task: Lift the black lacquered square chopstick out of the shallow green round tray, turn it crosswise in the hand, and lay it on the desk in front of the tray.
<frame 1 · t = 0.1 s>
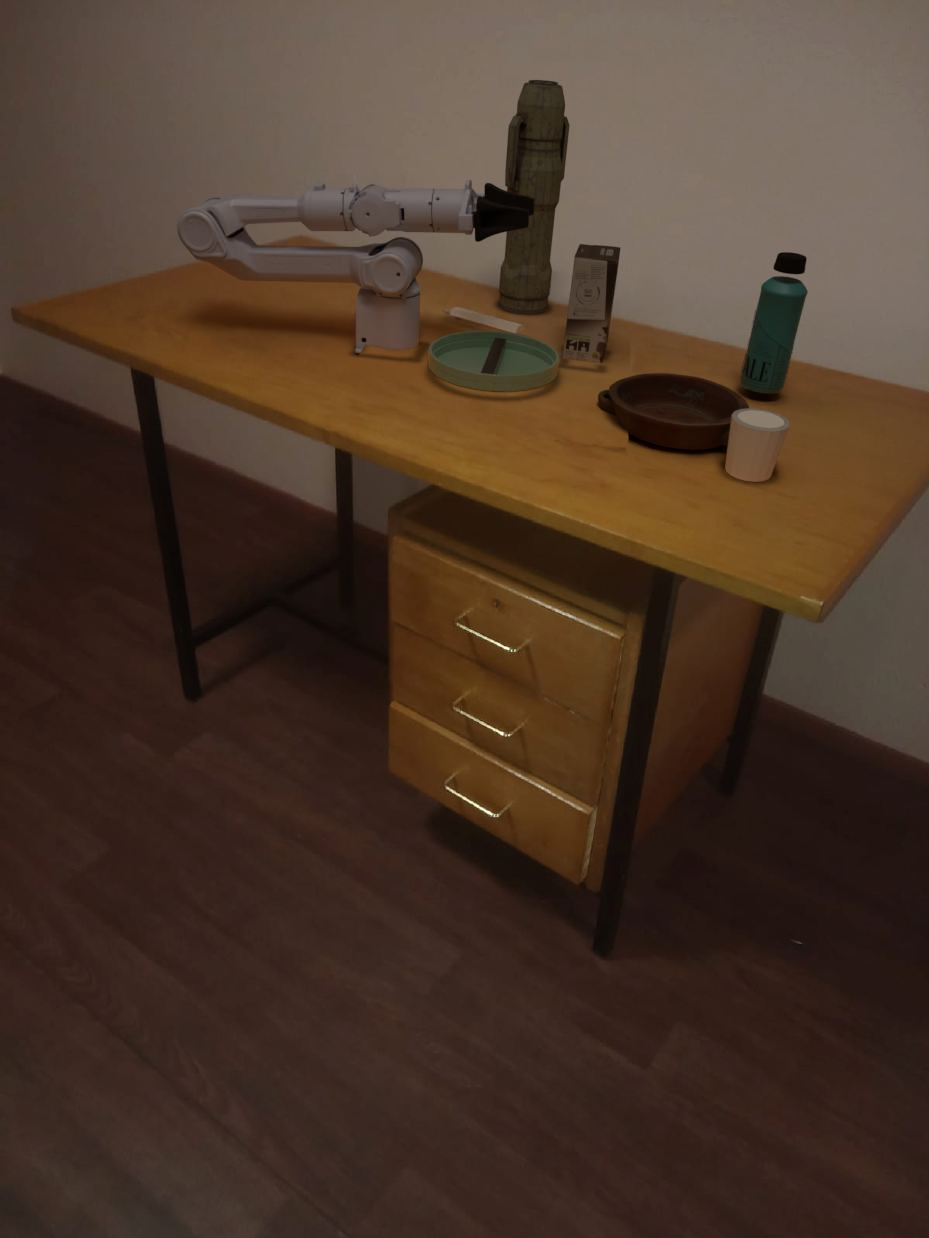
hand: (531, 212, 133), 22 cm above the table, tool horizontal, fingers open, 7 cm apart
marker: (479, 328, 158), on the table
white short cylinder: (747, 473, 118), on the table
coffee box: (584, 360, 149), on the table
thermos: (523, 307, 169), on the table
dish: (672, 432, 127), on the table
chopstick: (492, 367, 140), point 1 cm above the table, touching green round tray
green round tray: (492, 375, 140), on the table
beverage bottle: (758, 397, 140), on the table
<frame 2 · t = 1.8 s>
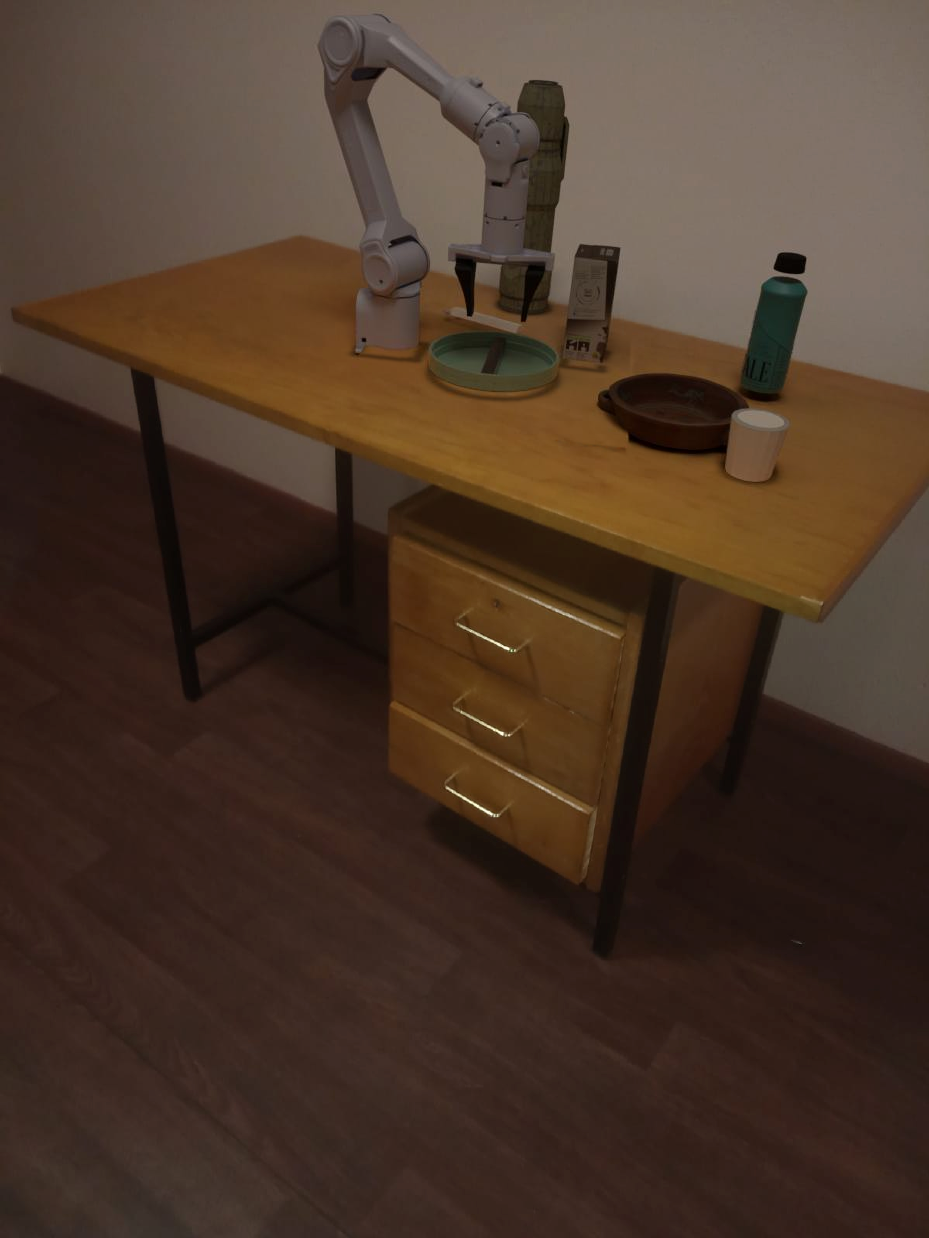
hand: (496, 317, 135), 9 cm above the table, tool pointing down, fingers open, 7 cm apart
nothing on the table moved.
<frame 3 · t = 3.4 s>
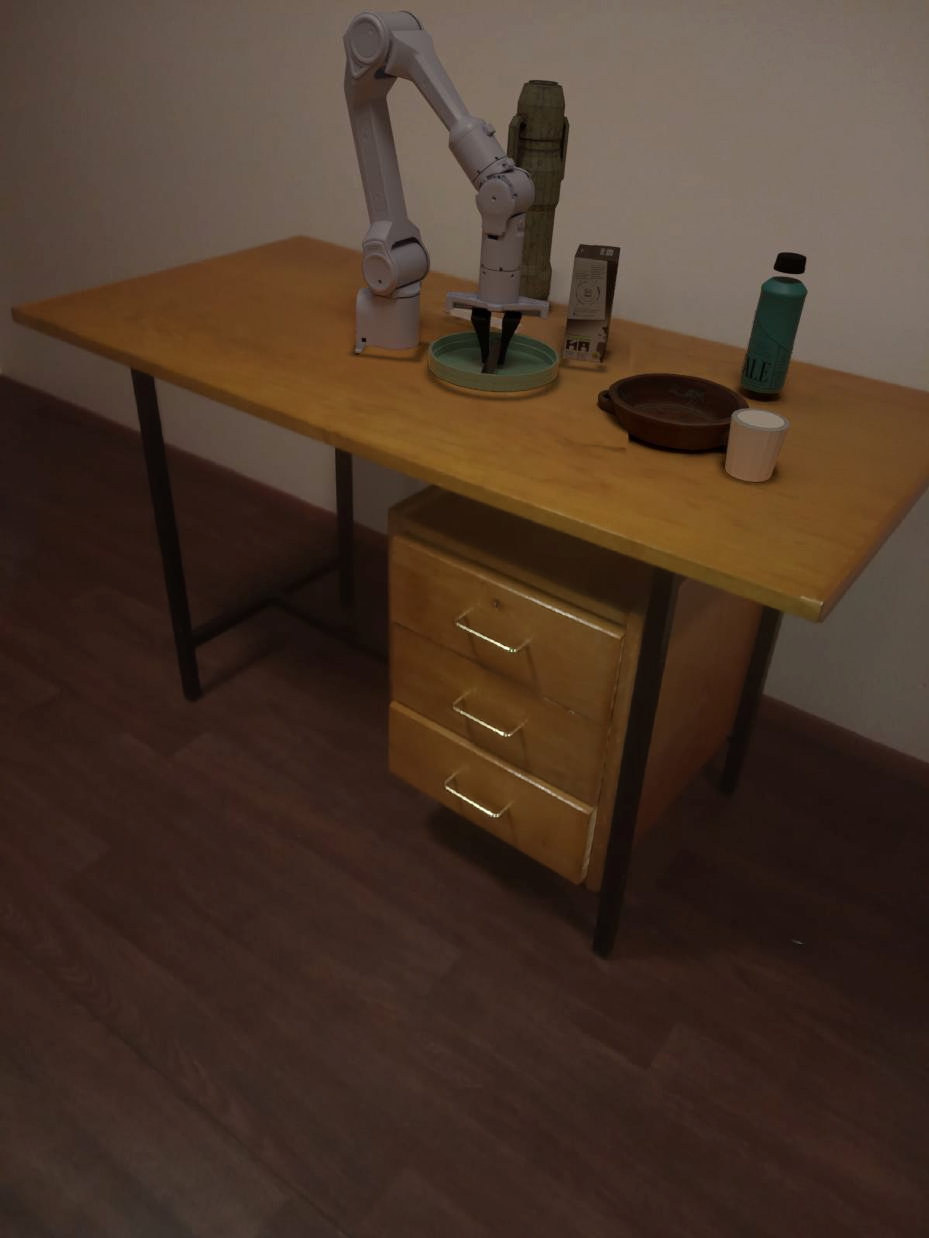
hand: (493, 362, 139), 2 cm above the table, tool pointing down, fingers closed on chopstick, 2 cm apart
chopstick: (492, 367, 140), point 1 cm above the table, touching green round tray, gripper
everything else where it was.
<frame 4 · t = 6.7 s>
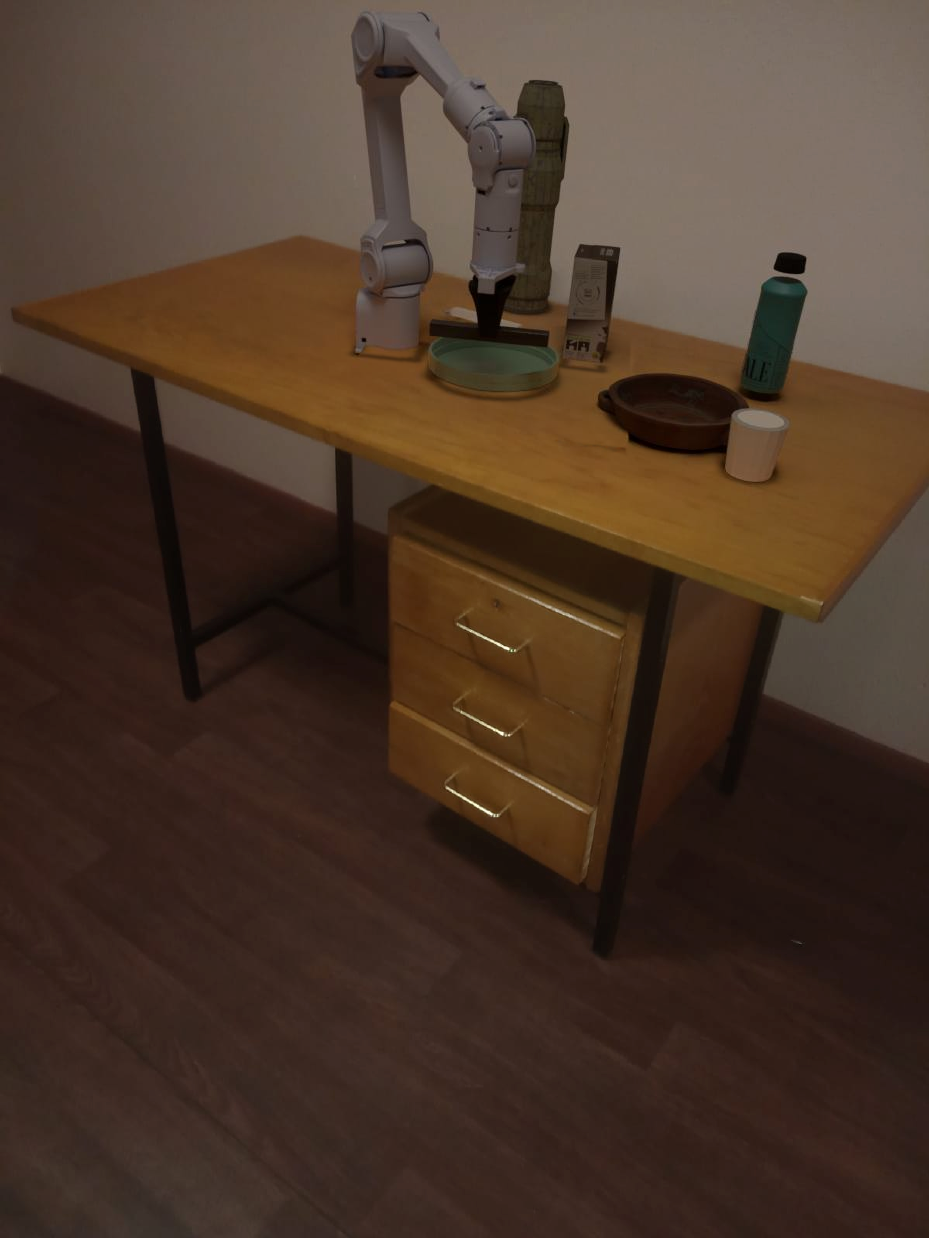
hand: (488, 334, 128), 9 cm above the table, tool pointing down, fingers closed on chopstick
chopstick: (488, 340, 128), point 8 cm above the table, touching gripper
everything else where it was.
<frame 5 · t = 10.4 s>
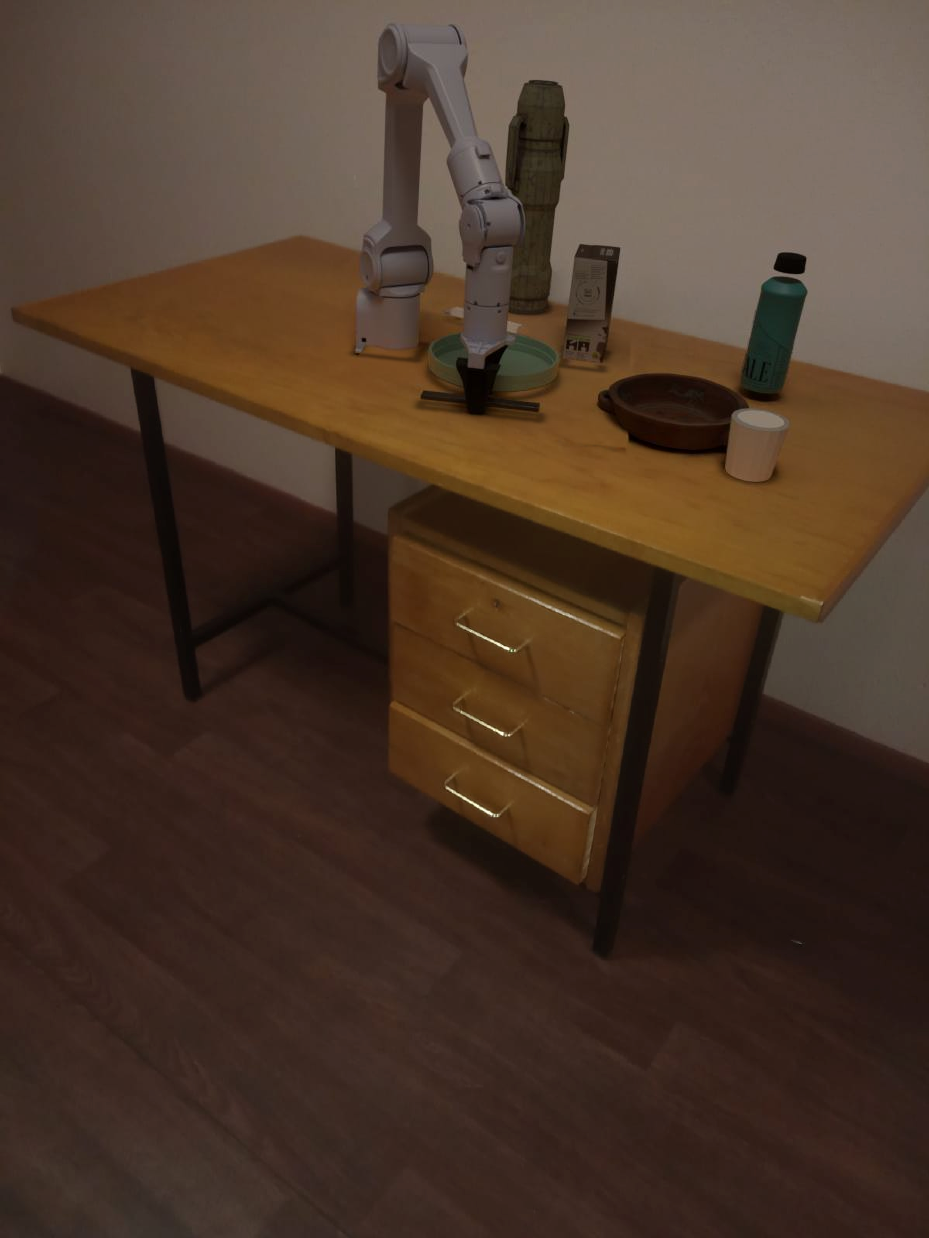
hand: (479, 402, 128), 1 cm above the table, tool pointing down, fingers open, 7 cm apart
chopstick: (479, 411, 129), on the table
everything else where it was.
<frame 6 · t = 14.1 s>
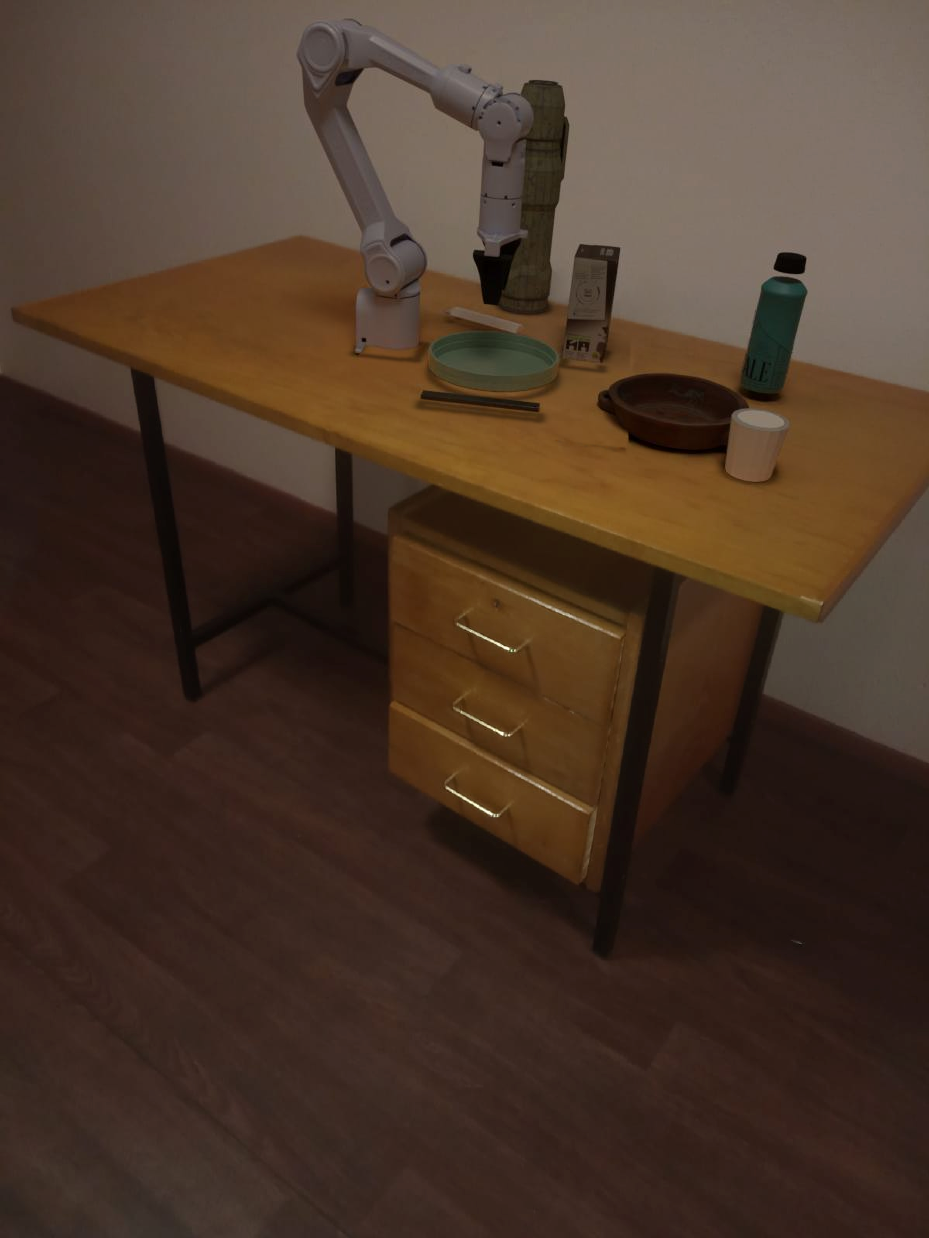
hand: (494, 296, 137), 10 cm above the table, tool pointing down, fingers open, 7 cm apart
nothing on the table moved.
at the end: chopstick inside the target area (0.4 cm from its centre), on the table; the gripper is holding nothing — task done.
